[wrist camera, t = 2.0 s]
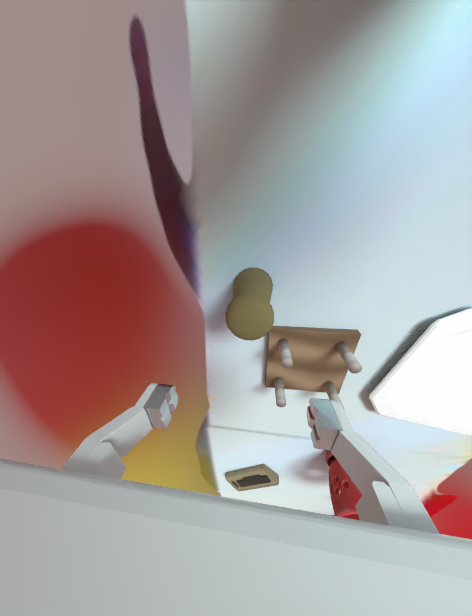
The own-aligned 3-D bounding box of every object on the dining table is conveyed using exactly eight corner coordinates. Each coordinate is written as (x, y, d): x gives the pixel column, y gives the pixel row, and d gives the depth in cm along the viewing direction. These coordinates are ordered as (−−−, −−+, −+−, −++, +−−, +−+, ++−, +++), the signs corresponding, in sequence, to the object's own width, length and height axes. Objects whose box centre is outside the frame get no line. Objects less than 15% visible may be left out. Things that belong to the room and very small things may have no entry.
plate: (474, 428, 35) (487, 440, 33) (353, 400, 36) (359, 410, 34) (627, 331, 23) (661, 342, 21) (443, 292, 24) (459, 298, 22)
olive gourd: (237, 306, 29) (225, 350, 19) (230, 270, 26) (212, 301, 16) (274, 302, 28) (281, 347, 18) (270, 264, 25) (277, 294, 15)
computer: (263, 461, 53) (263, 475, 50) (278, 473, 55) (279, 487, 52) (225, 470, 59) (223, 483, 56) (240, 480, 61) (239, 493, 58)
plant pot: (340, 433, 41) (367, 508, 30) (388, 451, 42) (431, 530, 31) (309, 455, 47) (323, 524, 36) (352, 470, 48) (378, 542, 37)
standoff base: (269, 325, 30) (271, 349, 24) (357, 329, 28) (380, 357, 22) (265, 381, 36) (266, 411, 31) (336, 388, 34) (350, 420, 29)
